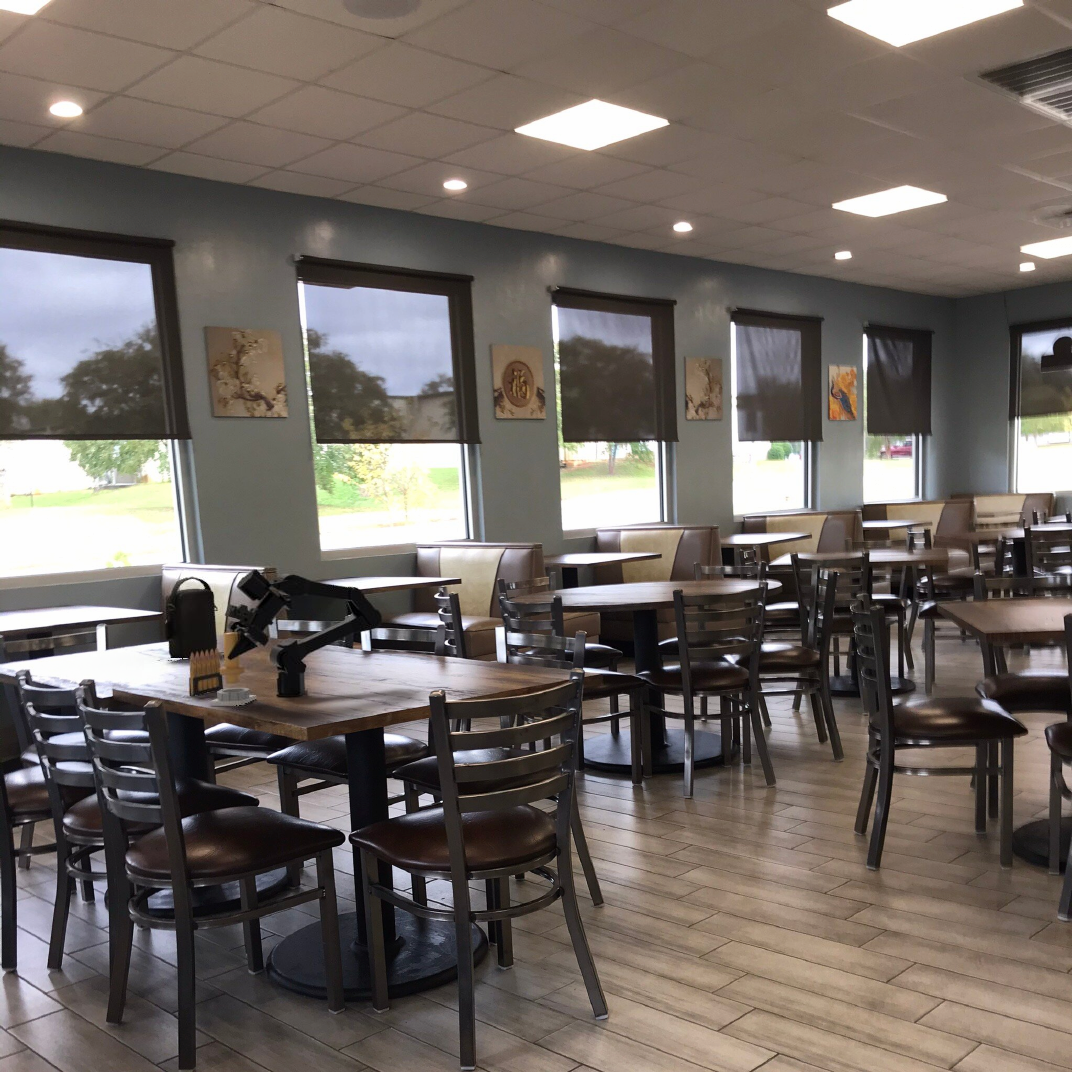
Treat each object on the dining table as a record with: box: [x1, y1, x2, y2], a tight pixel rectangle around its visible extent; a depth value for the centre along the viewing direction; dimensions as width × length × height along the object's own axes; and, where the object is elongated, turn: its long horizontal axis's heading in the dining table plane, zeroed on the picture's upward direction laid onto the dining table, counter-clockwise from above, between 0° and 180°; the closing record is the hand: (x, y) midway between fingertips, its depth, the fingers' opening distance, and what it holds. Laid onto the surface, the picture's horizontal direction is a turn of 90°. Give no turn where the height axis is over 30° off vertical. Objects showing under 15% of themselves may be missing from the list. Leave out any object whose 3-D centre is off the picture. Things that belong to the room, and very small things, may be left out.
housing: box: [209, 687, 257, 707], centre depth 273 cm, size 9×9×3 cm
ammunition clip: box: [188, 647, 224, 697], centre depth 290 cm, size 11×2×12 cm, turn 150°
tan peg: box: [220, 632, 246, 685], centre depth 273 cm, size 6×6×13 cm
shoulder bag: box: [157, 576, 224, 662], centre depth 365 cm, size 23×9×28 cm, turn 151°
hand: (226, 658), depth 272 cm, fingers closed on tan peg, 4 cm apart
